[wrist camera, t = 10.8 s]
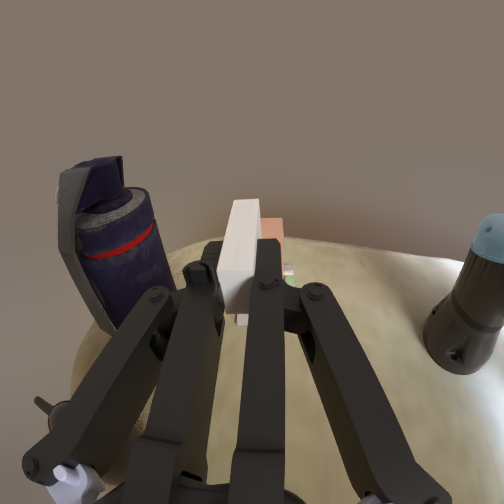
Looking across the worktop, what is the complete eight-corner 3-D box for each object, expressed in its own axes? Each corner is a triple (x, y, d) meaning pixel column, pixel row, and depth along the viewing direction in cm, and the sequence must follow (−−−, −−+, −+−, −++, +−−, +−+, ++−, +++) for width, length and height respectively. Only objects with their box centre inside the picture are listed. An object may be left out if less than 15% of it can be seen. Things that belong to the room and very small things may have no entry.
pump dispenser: (110, 415, 30) (50, 358, 21) (170, 440, 28) (117, 394, 19) (85, 467, 22) (10, 427, 13) (146, 501, 20) (73, 485, 11)
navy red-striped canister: (151, 300, 50) (101, 148, 32) (201, 318, 46) (158, 141, 28) (107, 350, 40) (22, 190, 22) (157, 380, 35) (58, 192, 18)
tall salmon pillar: (293, 278, 51) (294, 217, 43) (294, 297, 47) (297, 234, 39) (242, 279, 52) (235, 219, 44) (240, 298, 48) (232, 235, 40)
